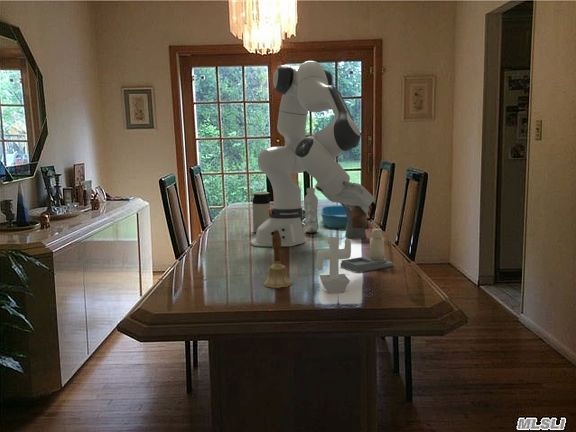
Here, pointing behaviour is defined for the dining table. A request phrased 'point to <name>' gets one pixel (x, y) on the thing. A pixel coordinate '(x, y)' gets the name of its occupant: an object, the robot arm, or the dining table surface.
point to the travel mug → (260, 209)
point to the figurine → (334, 265)
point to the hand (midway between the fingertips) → (360, 210)
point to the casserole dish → (334, 216)
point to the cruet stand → (375, 256)
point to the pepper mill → (358, 217)
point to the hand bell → (277, 266)
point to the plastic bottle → (311, 211)
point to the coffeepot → (356, 232)
